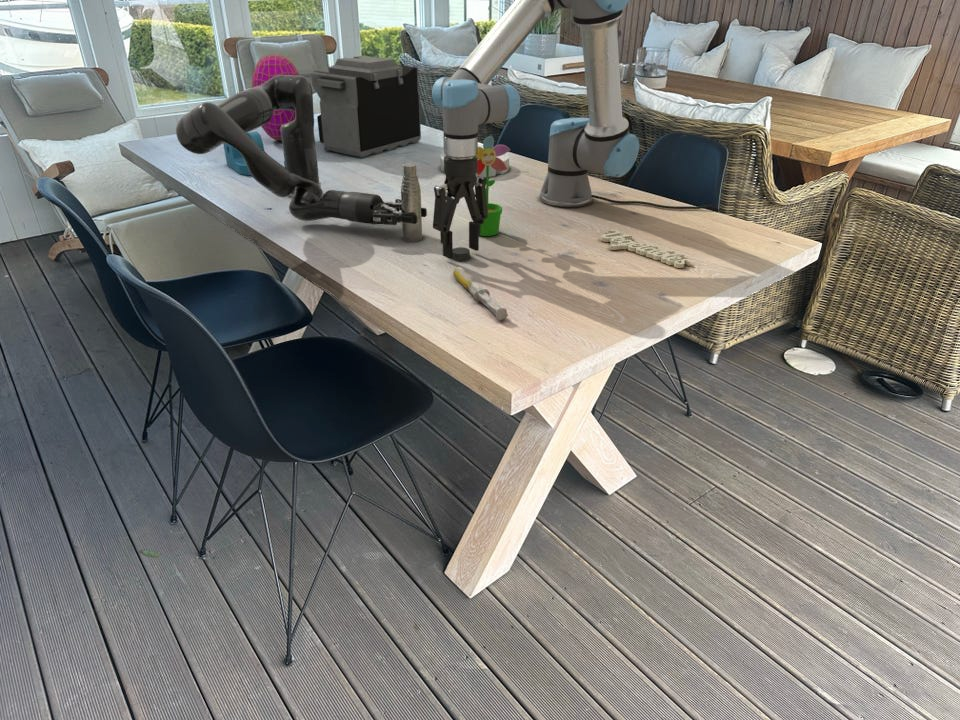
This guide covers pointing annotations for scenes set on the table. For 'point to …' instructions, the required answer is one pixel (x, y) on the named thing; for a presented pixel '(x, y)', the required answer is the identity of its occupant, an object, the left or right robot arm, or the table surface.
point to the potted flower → (491, 182)
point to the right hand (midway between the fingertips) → (461, 252)
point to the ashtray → (491, 170)
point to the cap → (461, 254)
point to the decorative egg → (263, 73)
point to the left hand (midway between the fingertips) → (421, 215)
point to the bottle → (411, 202)
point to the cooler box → (367, 105)
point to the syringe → (479, 293)
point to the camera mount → (235, 157)
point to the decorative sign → (644, 249)
